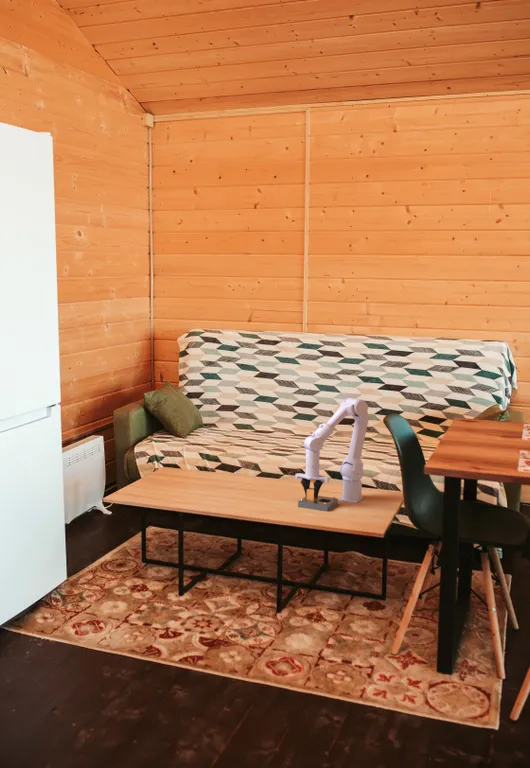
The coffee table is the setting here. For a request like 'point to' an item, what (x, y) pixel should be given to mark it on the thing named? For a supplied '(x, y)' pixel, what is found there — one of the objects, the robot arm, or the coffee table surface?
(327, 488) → the coffee table surface
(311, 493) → the orange rectangular block
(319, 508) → the grey mounting plate
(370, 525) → the coffee table surface
